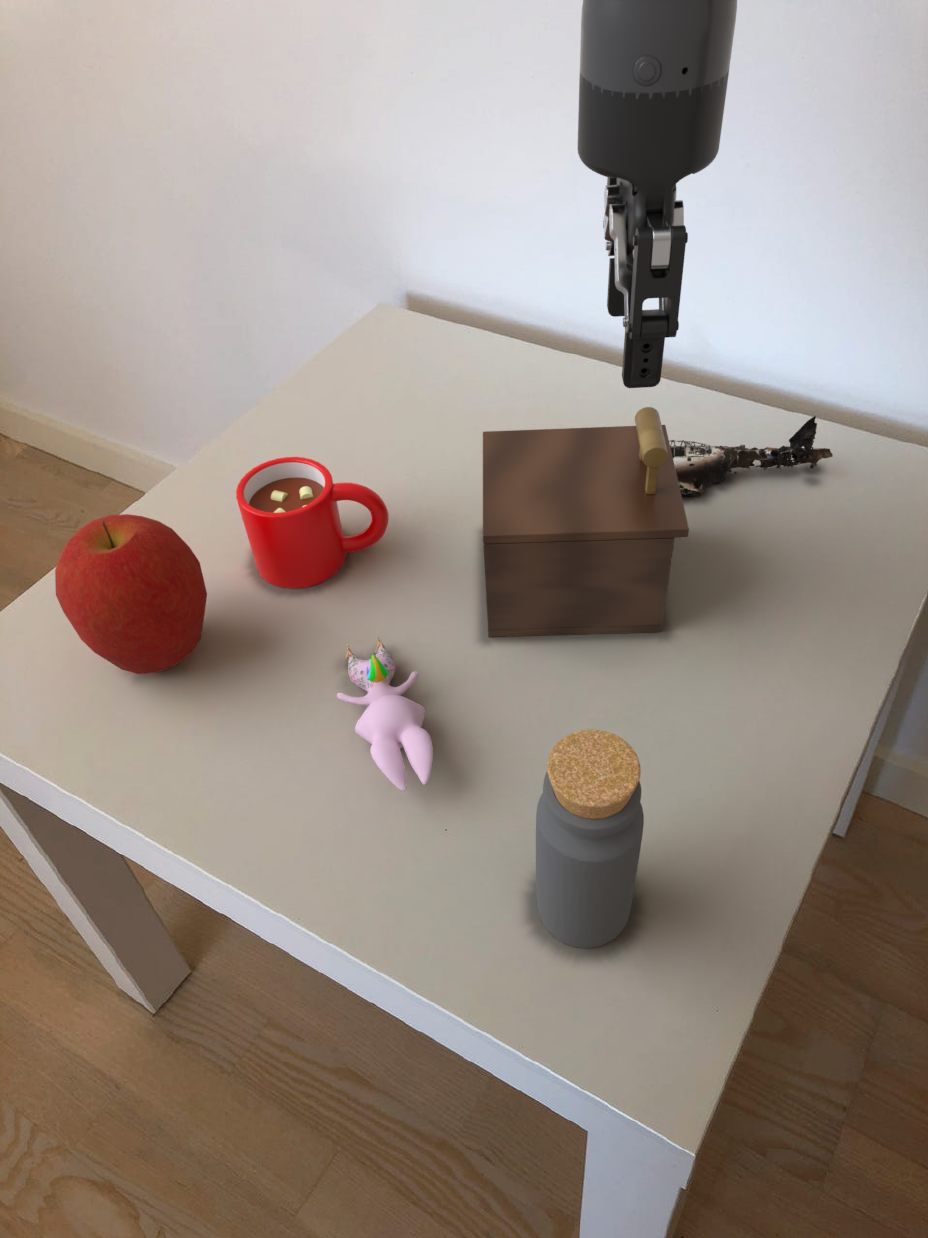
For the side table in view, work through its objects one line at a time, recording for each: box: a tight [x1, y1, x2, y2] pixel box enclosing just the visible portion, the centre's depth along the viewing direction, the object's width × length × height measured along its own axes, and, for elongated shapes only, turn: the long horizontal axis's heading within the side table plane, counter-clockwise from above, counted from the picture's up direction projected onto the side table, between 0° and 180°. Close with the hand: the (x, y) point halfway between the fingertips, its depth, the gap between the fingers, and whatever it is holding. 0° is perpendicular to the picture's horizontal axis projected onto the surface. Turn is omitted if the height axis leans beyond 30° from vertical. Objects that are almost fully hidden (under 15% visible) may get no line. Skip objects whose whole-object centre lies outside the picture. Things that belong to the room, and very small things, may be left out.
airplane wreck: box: [669, 415, 834, 497], centre depth 85 cm, size 6×18×6 cm, turn 94°
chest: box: [482, 538, 676, 638], centre depth 75 cm, size 14×13×10 cm
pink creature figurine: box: [336, 634, 434, 792], centre depth 67 cm, size 6×6×15 cm
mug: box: [235, 456, 390, 589], centre depth 80 cm, size 8×12×8 cm, turn 95°
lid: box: [482, 406, 690, 544], centre depth 70 cm, size 14×13×5 cm
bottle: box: [535, 729, 645, 949], centre depth 53 cm, size 6×6×15 cm
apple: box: [54, 513, 208, 675], centre depth 70 cm, size 10×10×14 cm
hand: (631, 346), depth 60 cm, fingers open, 8 cm apart
